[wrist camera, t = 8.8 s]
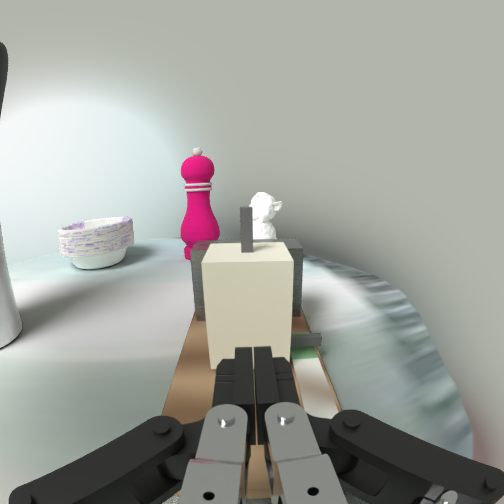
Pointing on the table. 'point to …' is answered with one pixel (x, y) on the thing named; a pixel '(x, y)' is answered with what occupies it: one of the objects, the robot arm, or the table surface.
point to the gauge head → (249, 296)
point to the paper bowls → (96, 241)
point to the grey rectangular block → (202, 246)
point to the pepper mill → (198, 202)
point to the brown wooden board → (203, 379)
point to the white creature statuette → (264, 215)
